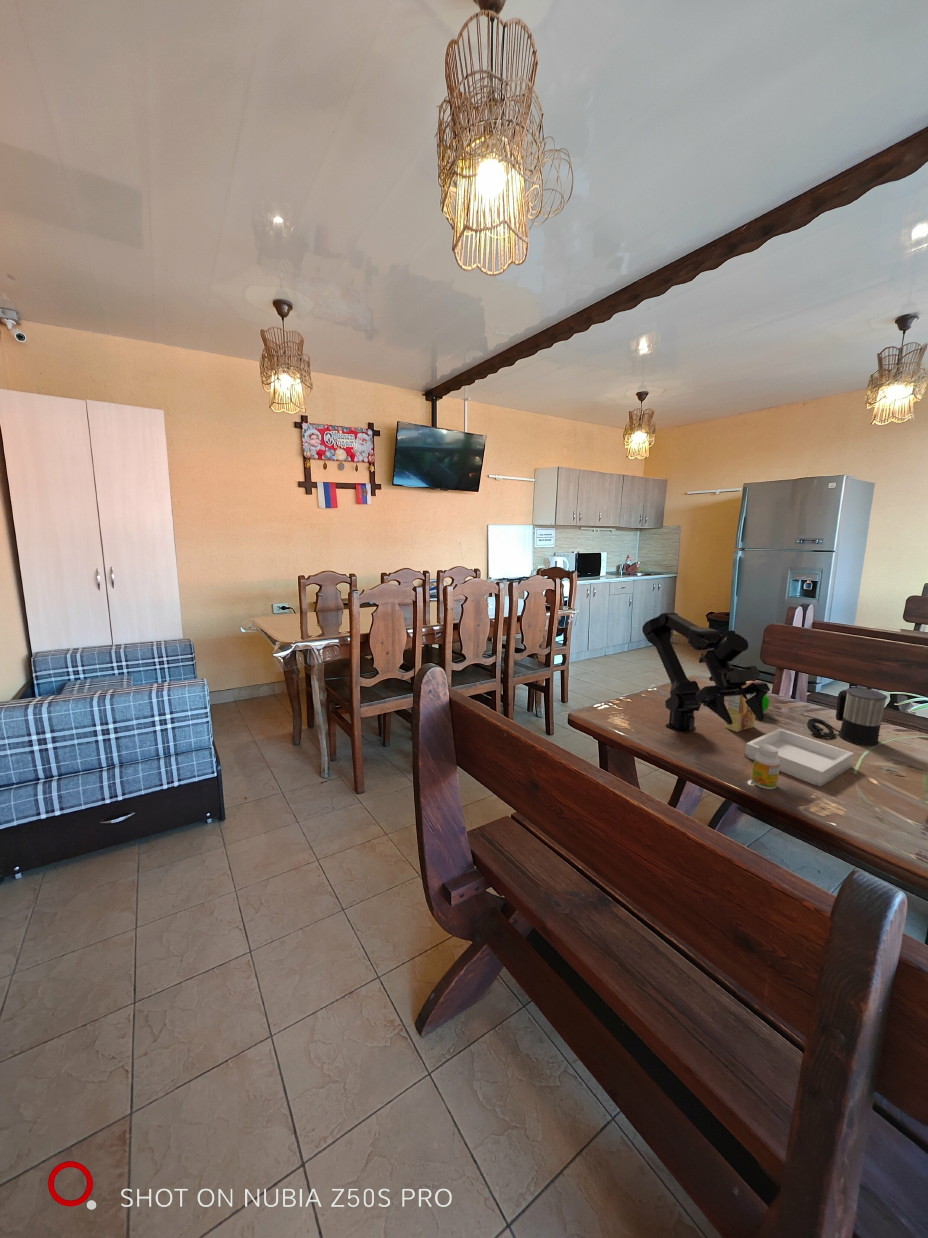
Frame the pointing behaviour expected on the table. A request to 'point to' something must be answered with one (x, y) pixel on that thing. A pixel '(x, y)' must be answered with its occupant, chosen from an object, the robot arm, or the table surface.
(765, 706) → the ornament
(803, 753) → the box
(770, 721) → the table surface
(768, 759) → the supplement bottle
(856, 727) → the milk frother
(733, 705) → the candy box
